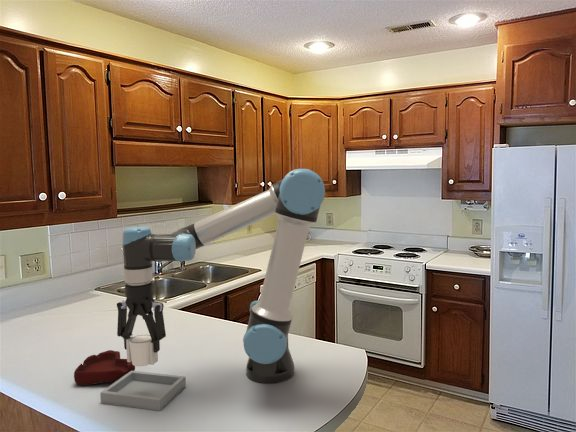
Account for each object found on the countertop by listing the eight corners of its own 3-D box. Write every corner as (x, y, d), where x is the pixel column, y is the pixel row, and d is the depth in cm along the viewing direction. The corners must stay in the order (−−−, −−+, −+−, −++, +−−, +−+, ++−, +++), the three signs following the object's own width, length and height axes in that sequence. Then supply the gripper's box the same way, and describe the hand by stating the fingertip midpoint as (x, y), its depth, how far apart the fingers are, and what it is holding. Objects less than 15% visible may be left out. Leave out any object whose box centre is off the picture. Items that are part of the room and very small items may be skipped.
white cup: (129, 368, 124) (127, 344, 124) (130, 359, 131) (129, 335, 130) (155, 365, 126) (154, 341, 126) (155, 356, 133) (154, 333, 132)
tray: (185, 386, 134) (185, 376, 134) (159, 410, 120) (159, 400, 120) (131, 379, 139) (131, 370, 138) (100, 403, 125) (100, 392, 125)
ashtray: (64, 378, 142) (63, 362, 141) (115, 362, 153) (114, 347, 153) (86, 396, 129) (85, 380, 129) (140, 378, 141) (139, 362, 140)
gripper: (177, 280, 127) (180, 359, 130) (117, 277, 133) (120, 353, 135) (163, 287, 120) (166, 370, 122) (100, 283, 125) (104, 363, 128)
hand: (142, 361), depth 129 cm, fingers closed on white cup, 7 cm apart
